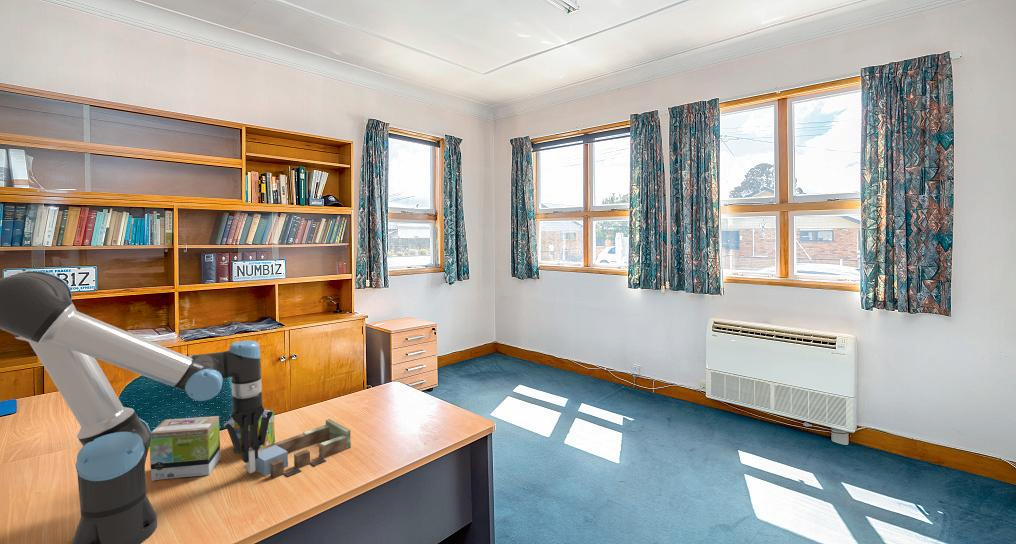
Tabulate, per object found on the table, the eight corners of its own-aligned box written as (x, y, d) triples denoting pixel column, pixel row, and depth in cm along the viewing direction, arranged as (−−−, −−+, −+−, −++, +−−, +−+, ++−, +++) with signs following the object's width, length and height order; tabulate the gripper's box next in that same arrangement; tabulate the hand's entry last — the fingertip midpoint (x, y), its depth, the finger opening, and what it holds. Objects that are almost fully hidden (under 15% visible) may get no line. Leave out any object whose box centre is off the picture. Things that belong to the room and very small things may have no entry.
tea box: (150, 482, 129) (147, 433, 127) (166, 464, 138) (163, 418, 137) (209, 475, 133) (207, 427, 131) (221, 458, 142) (219, 414, 141)
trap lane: (277, 481, 130) (276, 461, 130) (254, 462, 141) (254, 444, 140) (354, 449, 150) (354, 432, 149) (329, 435, 160) (329, 418, 159)
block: (265, 476, 133) (264, 460, 133) (253, 469, 137) (252, 453, 137) (288, 466, 139) (287, 451, 138) (276, 459, 143) (275, 444, 142)
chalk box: (259, 455, 145) (257, 410, 144) (232, 453, 146) (230, 409, 144) (276, 441, 154) (274, 400, 153) (250, 440, 155) (249, 398, 154)
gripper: (227, 404, 124) (231, 485, 126) (276, 391, 134) (279, 466, 136) (217, 397, 128) (221, 475, 131) (265, 385, 138) (268, 457, 141)
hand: (251, 470), depth 133 cm, fingers closed
